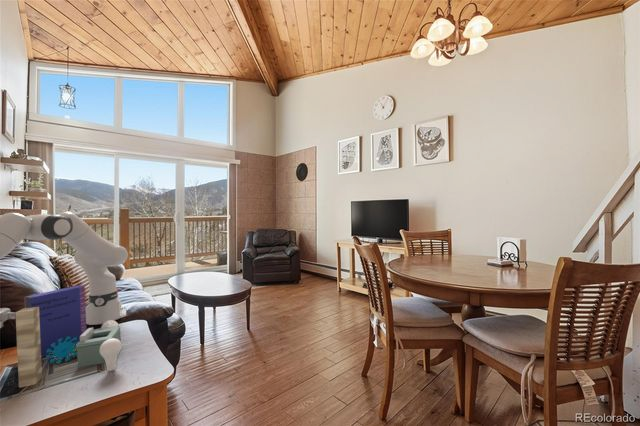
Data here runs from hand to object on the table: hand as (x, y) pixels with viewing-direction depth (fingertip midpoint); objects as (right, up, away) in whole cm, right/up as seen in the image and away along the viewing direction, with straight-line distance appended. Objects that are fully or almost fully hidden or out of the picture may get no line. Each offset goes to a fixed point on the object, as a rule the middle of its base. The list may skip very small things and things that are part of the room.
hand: (11, 319), depth 90 cm
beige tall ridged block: (+4, -21, +2) cm, 22 cm away
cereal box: (-9, -22, +25) cm, 35 cm away
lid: (+15, -13, +17) cm, 26 cm away
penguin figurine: (+11, -21, +29) cm, 38 cm away
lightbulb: (+27, -20, +7) cm, 35 cm away
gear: (+3, -22, +16) cm, 27 cm away
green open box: (+15, -21, +17) cm, 31 cm away
